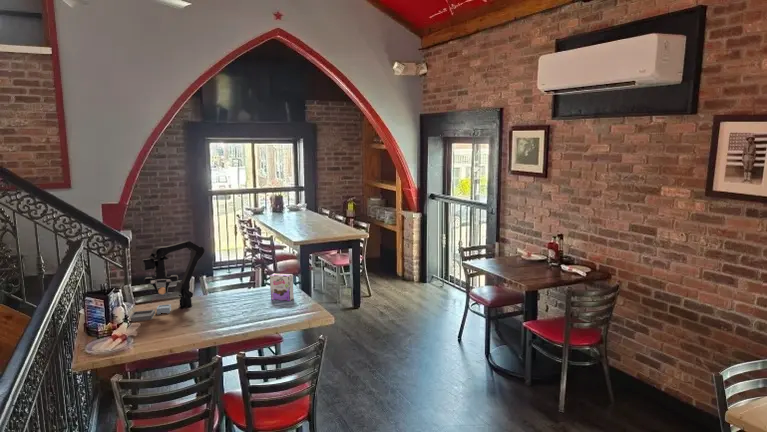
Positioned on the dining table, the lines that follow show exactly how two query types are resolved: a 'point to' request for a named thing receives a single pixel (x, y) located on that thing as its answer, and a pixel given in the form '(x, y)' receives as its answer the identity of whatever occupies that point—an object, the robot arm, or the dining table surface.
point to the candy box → (281, 287)
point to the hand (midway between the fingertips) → (162, 292)
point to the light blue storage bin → (163, 309)
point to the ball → (162, 290)
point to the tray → (142, 315)
